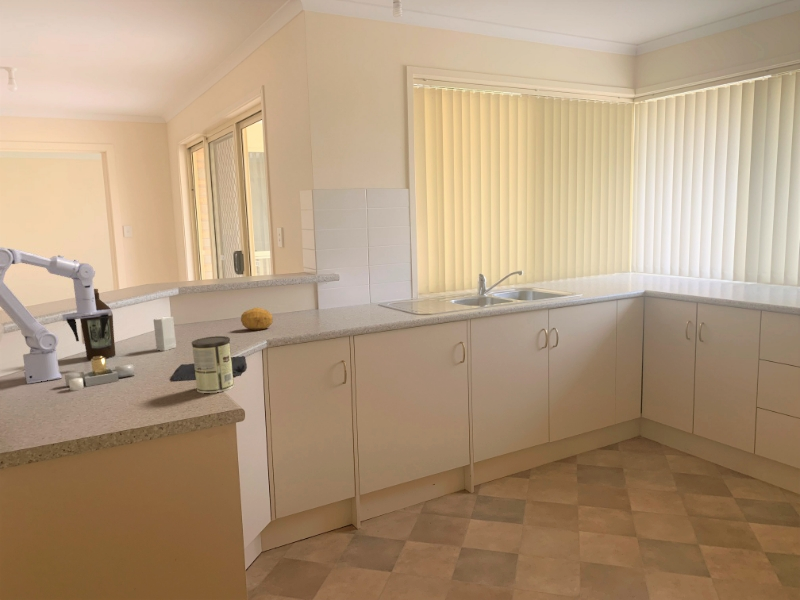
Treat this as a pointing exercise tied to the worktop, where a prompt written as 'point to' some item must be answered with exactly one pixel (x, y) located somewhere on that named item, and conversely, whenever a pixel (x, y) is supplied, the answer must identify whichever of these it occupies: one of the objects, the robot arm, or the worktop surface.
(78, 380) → the pipe cap
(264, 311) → the potato
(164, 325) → the skincare box
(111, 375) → the fitting socket
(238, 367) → the dark slate chunk
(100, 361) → the gold metal cylinder
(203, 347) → the coffee can
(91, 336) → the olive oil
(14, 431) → the worktop surface
